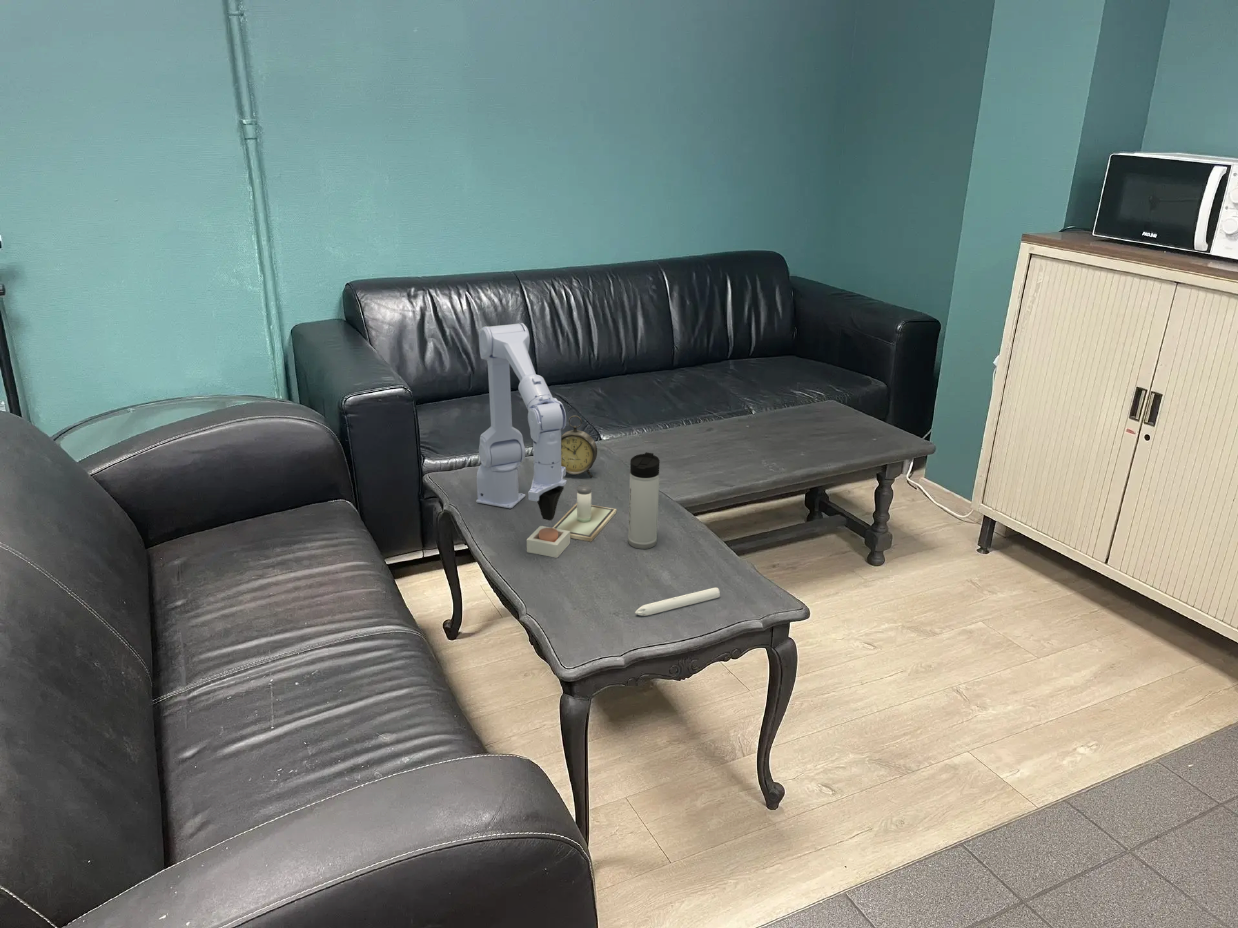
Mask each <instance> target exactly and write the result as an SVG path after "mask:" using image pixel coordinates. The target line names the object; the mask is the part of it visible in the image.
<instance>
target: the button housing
mask: <svg viewBox="0 0 1238 928" xmlns="http://www.w3.org/2000/svg"><path fill="white" fill-rule="evenodd" d="M544 528H551V526H545V525H544V526H543V525H539V527H538V528H536V530H535V531H533V532H532V534H531V535H529V537H527V539H526V552H527V553H530V554H535V555H541V556H545V557H549V558H556V559H558V557H560V556H561V554H562V553H563V552H564V551H565V550H566V549H567V547H568V546H569V545H570V544H571V538H570V531H566V530H561V529H556V530H557V531H558V539H557V540H556V541H555V542H550V541H544V540H539V531H540V530H541V529H544ZM554 529H555V528H554Z"/></svg>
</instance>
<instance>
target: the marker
mask: <svg viewBox="0 0 1238 928" xmlns="http://www.w3.org/2000/svg"><path fill="white" fill-rule="evenodd" d="M720 593H721V592H720V589H719V588H718V587H712V588H711V587H710V588H708V589H707V588H706V589H704V590H700V591H699V590H698V591H694V592H691V593H686V594H683V595H680V596H679V595H678V596H675V597H670V598H665V599H663V600H659V601H658V600H657V601H655V602H652V603H651V602H650V603H646V604H643V605H640V607H639V608H638V609H636V610H635V612H634V614H636V615H638V616H643V617H645V616H647V617H648V616H651V615H654V614H659V613H663V612H667V611H671V610H675V609H679V608H683V607H687V606H691V605H696V604H699V603H703V602H707V601H711V600H715V599H717V598H720V595H721V594H720Z"/></svg>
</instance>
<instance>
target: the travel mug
mask: <svg viewBox="0 0 1238 928" xmlns="http://www.w3.org/2000/svg"><path fill="white" fill-rule="evenodd" d="M660 462H661V461H660V458H659V457H658V456H656V454H655V455H654V453H653V452H645V453H640V454H637V455H634V456H632V457H631V458H630V465H629V466H630V467H629V469H630V470H629V497H628V538H627V539H628V540H627V542H628V544H629V545H630V546H631V547H633V548H636V549H642V550H644V549H645V550H646V549H651V548H653V547H655V546H656V545H657V544H658V543H657V542H658V541H657V540H658V519H659V518H658V517H659V516H658V515H659V495H660V494H659V493H660V492H659V490H660Z"/></svg>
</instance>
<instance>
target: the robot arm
mask: <svg viewBox="0 0 1238 928" xmlns="http://www.w3.org/2000/svg"><path fill="white" fill-rule="evenodd" d="M530 341H531V339H530V332H529V329H528V327H527V326H526V325H525V324H524V323H523V322H519V323H513V324H511V323H510V324H502V325H493V326H492V325H491V326H488V325H487V326H483V327H482V328H481V330H479V334H478V344H479V346H478V347H479V354H480V359H481V360H485V361H486V363H487V373H488V374H487V375H488V392H489V393H488V394H489V395H488V396H489V410H490V411H489V412H490V413H489V414H490V427H489V428H487V429H486V430H485V431H484V432H482V433H481V434H480V437H479V447H478V457H479V460H480V463H481V464H480V465H479V467H478V468H477V473H476V490H477V491H476V493H477V495H476V496H477V499H476V500H475V501H476V503H477V504H482V505H489V506H493V507H494V506H495V507H500V508H505V509H513V507H515V506H516V505H517V504H518V503H519V502H521V501H522V500H523V499H524V498H525V497H526V494H525V493H519V492H520V491H519V467H521V463H523V462H524V461H525V460H524V459H525V458H526V447H525V443H524V438H523V434H522V433H521V431H520V430H519V429H517V428H515V427H514V426H513V418H512V416H513V415H512V414H513V413H512V397H511V396H512V393H511V392H512V391H511V390H512V389H511V373H510V371H511V369H512V370H513V372H514V374H515V375H516V377H517V378H518V380H519V384H518V393H519V394H520V396H521V398H522V401H523V403H524V405H525V407H526V409H527V411H528V413H527V421H528V426H529V429H530V430H529V432H530V438H531V439H532V440H533V441H532V447H533V449H532V451H533V453H532V454H533V478H532V481H531V485H530V486H531V487H530V489H529V490H528V491H527V492H528V498H527V499H528V501H533V502H537V505H538V508H539V512H540V515H541V518H542V520H545V521H546V520H547V521H552V520H553V519H554V518H555V514H556V510H557V506H558V502H559V499H560V496H561V495H562V493H563V491H564V486H565V485H566V484H567V479H564V477H566V475H567V473H566V467H562V466H561V435H562V430H564V429H565V428H566V425H567V415H566V410H565V407H564V404H563V403H562V401H560V400H558V399H557V398H556V397H553V395H552V393H551V391H550V389H549V387H548V385H547V382H546V380H545V378H544V377H543V376H541V375H539V374H536V371H535V367H534V365H533V363H532V359H531V357H530V354H529V351H530ZM510 367H511V369H510Z"/></svg>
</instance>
